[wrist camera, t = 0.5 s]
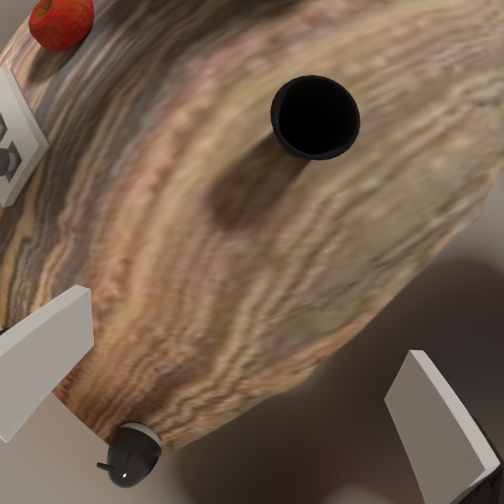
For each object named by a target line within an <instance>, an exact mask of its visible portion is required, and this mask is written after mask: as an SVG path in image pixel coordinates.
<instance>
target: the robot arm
mask: <svg viewBox="0 0 504 504" xmlns="http://www.w3.org/2000/svg"><path fill="white" fill-rule="evenodd" d="M93 346H94V337H93V326H92V312H91V290H90V289H88V288H85V287H82V286H79V285H75V286H73V287H72V288H70V289H68V290H67V291H65V292H64V293H62V294H61V295H59V296H58V297H56V298H54V299H53V300H51V301H50V302H48V303H47V304H45V305H44V306H42V307H41V308H39V309H38V310H36V311H35V312H33V313H32V314H30V315H29V316H27V317H26V318H25V319H23V320H22V321H20V322H19V323H17V324H16V325H14V326H13V327H12V328H7V329H4V330H2V331H0V439H2V440H3V441H4V442H6V443H8V442H9V440H10V439H11V438H12V436H14V434H15V433H16V432H17V431H18V429H19V428H20V427H21V426H22V425H23V424H24V422H25V421H26V420H27V419H28V418H29V416H30V415H31V414H32V413H33V412H34V411H35V410H36V408H37V407H38V406H39V405H40V404H41V403H42V401H43V400H44V399H45V398H46V397H47V396H48V395H49V394H50V392H51V391H52V390H53V389H54V388H55V387H56V386H57V385H58V384H59V382H60V381H61V380H62V379H63V378H64V377H65V376H66V375H67V374H68V373H69V372H70V370H71V369H72V368H73V367H74V366H75V365H76V364H77V363H78V362H79V361H80V360H81V359H82V358H83V356H84V355H85V354H86V353H87V352H88V351H89V350H90V349H91V348H92V347H93ZM384 400H385V403H386V405H387V407H388V409H389V412H390V414H391V416H392V419H393V421H394V423H395V426H396V428H397V430H398V433H399V435H400V438H401V440H402V443H403V445H404V448H405V450H406V453H407V455H408V458H409V460H410V463H411V465H412V468H413V470H414V473H415V475H416V478H417V481H418V483H419V487H420V489H421V492H422V495H423V498H424V501H425V503H426V504H458V503H459V504H504V461H503V459H502V458H501V456H500V455H499V453H498V451H497V450H496V448H495V447H494V445H493V443H492V442H491V440H490V439H489V438H488V436H487V434H486V432H485V431H483V428H482V426H481V425H480V423H479V422H478V420H477V419H476V418H474V417H473V416H472V415H471V414H470V413H469V412H467V410H466V409H465V407H464V406H463V404H462V403H461V401H460V400H459V398H458V397H457V396H456V394H455V393H454V391H453V390H452V389H451V388H450V386H449V384H448V383H447V382H446V380H445V379H444V378H443V376H442V375H441V374H440V372H439V371H438V369H437V368H436V367H435V366H434V364H433V363H432V362H431V360H430V359H429V358H428V356H427V355H426V354H425V352H424V351H418V350H409V352H408V354H407V356H406V358H405V360H404V363H403V365H402V367H401V369H400V371H399V373H398V375H397V377H396V378H395V380H394V382H393V384H392V386H391V388H390V390H389V391H388V393H387V395H386V397H385V399H384Z"/></svg>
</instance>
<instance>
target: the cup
mask: <svg viewBox="0 0 504 504" xmlns="http://www.w3.org/2000/svg"><path fill="white" fill-rule="evenodd" d="M270 113H271V123H272V126H273V130H274V132H275V134H276V136H277V138H278V140H279V142H280V144H281V146H282V147H283V149H284V150H285V151H286V152H287V153H288V154H290V155H292V156H294V157H297V158H304V159H311V160H328V159H332V158H335V157H337V156H340V155H341V154H343V153H344V152H346V151H347V150H348V149H349V148H350V147H351V146H352V144H353V143H354V142H355V140H356V138H357V135H358V133H359V128H360V114H359V110H358V107H357V104H356V102H355V101H354V99H353V97H352V96H351V94H350V93H349V92H348V91H347V90H346V89H345V88H344V87H343V86H341V85H340V84H338V83H337V82H335V81H334V80H331V79H329V78H326V77H322V76H316V75H309V76H301V77H298V78H295V79H292V80H291V81H289V82H287V83H286V84H284V85H283V86H282V87H281V88H280V90H279V91H278V92H277V93H276V95H275V97H274V99H273V101H272V106H271V111H270Z"/></svg>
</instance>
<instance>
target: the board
mask: <svg viewBox="0 0 504 504" xmlns="http://www.w3.org/2000/svg"><path fill="white" fill-rule="evenodd" d="M0 124H3V125H4V127H5V132H4V136H3V138H2V139H1V140H0V148H6V149H7V150H8V152H9V153H16V154H17V155H18V160H19V161H18V166H17V168H16V169H15V170H14V171H7V172H6V174H5V175H4V176H1V177H0V203H1V205H2V208H3V207H7V206H12V205H14V204H15V202H16V200H17V198H18V197H19V195H20V193H21V192H22V190H23V188H24V187H25V185H26V183H27V182H28V180H29V178H30V177H31V175H32V174H33V172H34V171H35V169H36V168H37V166H38V165H39V163H40V162H41V160H42V159H43V157H44V156H45V155H46V153H47V152H48V150H49V149H50V148H51V145H50V143H49V142H48V140H47V138H46V136H45V135H44V133H43V131H42V129H41V127H40V126H39V124H38V122H37V120H36V118H35V116H34V114H33V112H32V110H31V109H30V107H29V105H28V103H27V101H26V99H25V97H24V95H23V93H22V90H21V88H20V86H19V84H18V82H17V80H16V78H15V75H14V73H13V71H12V70H9V69H6V68H2V69H1V71H0Z"/></svg>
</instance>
